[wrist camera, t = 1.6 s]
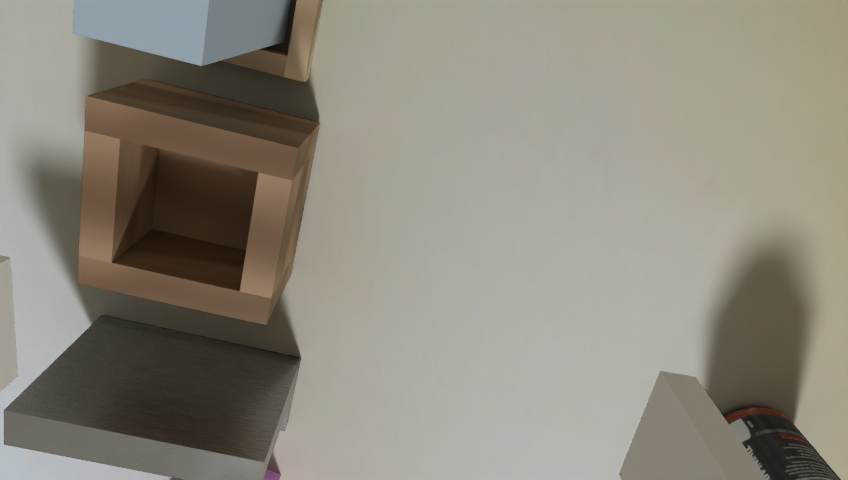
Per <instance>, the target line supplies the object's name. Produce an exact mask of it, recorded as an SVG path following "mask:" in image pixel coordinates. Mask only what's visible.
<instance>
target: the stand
mask: <svg viewBox="0 0 848 480" xmlns="http://www.w3.org/2000/svg"><path fill="white" fill-rule="evenodd" d="M322 1H323V0H297V1H296V7H295V14H294V20H293V26H292V32H291V38H290V44H289V50H288V53H285V52H281V51H277V50H273V49H269V48H266V47H265V48H262V49H258V50H255V51H252V52H248V53H245V54H241V55H238V56H235V57H231V58H228V59H224V60H221V61H223V62H227V63H231V64H235V65H239V66H243V67H246V68H250V69H254V70H258V71H262V72H266V73H270V74H274V75H278V76H282V77H286V78H289V79H293V80H297V81H301V82H305V81H307V80H308V79H309V74H310V69H311V63H312V57H313V52H314V46H315V41H316V35H317V29H318V24H319V18H320V12H321V7H322Z"/></svg>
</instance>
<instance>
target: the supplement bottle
mask: <svg viewBox="0 0 848 480" xmlns="http://www.w3.org/2000/svg"><path fill="white" fill-rule="evenodd" d="M724 418H725V420H726V421H727V422H728V424H729V425H730V427H731V428H732V430H733V431H734V432H735V434H736V435H737V437H738V438H739V440H740V441H741V442H742V444H743V445H744V447H745V448H746V450H747V451H748V452H749V454H750V455H751V457H752V458H753V460H754V461H755V462H756V464H757V465H758V467H759V468H760V470H761V471H762V472H763V474H764V475H765V477H766V478H767V479H768V480H841V479H840V478H839V477H838V476H837V475H836V473H835V472H834V471H833V470H832V469H831V468H830V466H829V465H828V464H827V463H826V462H825V461H824V459H823V458H822V457H821V456H820V455H819V453H818V452H817V451H816V450H815V449H814V447H813V446H812V445H811V444H810V443H809V442H808V440H807V439H806V438H805V437H804V436H803V435H802V433H801V432H800V431H799V430H798V429H797V428H796V427H795V425H794V424H793V423H792V422H791V421H790V420H789V419H788V418H787V417H786V416H785V415H783V414H782V413H780V412H778V411H776V410H773V409H769V408H762V407H751V408H744V409H741V410H738V411H735V412H733V413H730V414H728V415H727V416H725V417H724Z"/></svg>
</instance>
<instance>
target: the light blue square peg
mask: <svg viewBox="0 0 848 480" xmlns="http://www.w3.org/2000/svg"><path fill="white" fill-rule="evenodd" d="M290 4H291V0H74V18H73V34H77V35H81V36H85V37H89V38H93V39H97V40H101V41H105V42H109V43H113V44H117V45H120V46H124V47H128V48H132V49H136V50H140V51H144V52H148V53H152V54H156V55H160V56H164V57H168V58H172V59H175V60H179V61H183V62H187V63H191V64H195V65H199V66H204V65H207V64H211V63H214V62H218V61H221V60H224V59H228V58H231V57H235V56H238V55H241V54H245V53H248V52H252V51H255V50H258V49H262V48H265V47H269V46H272V45H275V44H279V43H282V42H285V35H286V29H287V23H288V17H289V10H290Z"/></svg>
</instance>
